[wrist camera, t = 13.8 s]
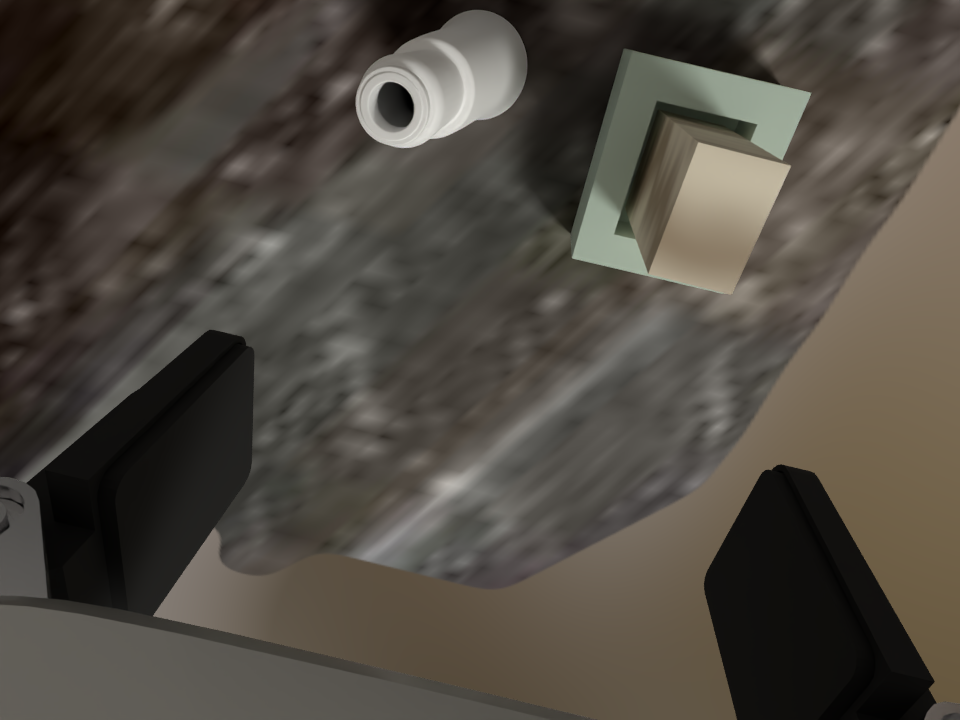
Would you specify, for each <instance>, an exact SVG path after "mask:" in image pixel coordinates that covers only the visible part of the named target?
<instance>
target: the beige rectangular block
mask: <svg viewBox="0 0 960 720" xmlns="http://www.w3.org/2000/svg"><path fill="white" fill-rule="evenodd" d="M790 167H791V165H789V164H787V163H786V162H784V161H782V160H781V159H779V158H777V157H776V156H774V155H772V154H770V153H769V152H767V151H765V150H764V149H762V148H760V147H759V146H757V145H755V144H754V143H752V142H750V141H749V140H747V139H745V138H744V137H742V136H740V135H739V134H737V133H735V132H734V131H732V130H730V129H729V128H727V127H725V126H723V125H719V124H715V123H711V122H707V121H703V120H699V119H695V118H691V117H687V116H683V115H679V114H675V113H671V112H667V111H663V110H660V109H658V112H657V115H656V117H655V120H654V123H653V126H652V129H651V132H650V135H649V138H648V141H647V144H646V147H645V150H644V153H643V156H642V159H641V161H640V164H639V167H638V170H637V173H636V176H635V179H634V182H633V185H632V188H631V191H630V194H629V197H628V200H627V203H626V205H625V210H626V213H627V216H628V219H629V221H630V224H631V227H632V230H633V233H634V236H635V238H636V241H637V244H638V247H639V250H640V252H641V255H642V258H643V261H644V264H645V266H646V269H647V272H648V274H650V275H654V276H658V277H662V278H666V279H670V280H674V281H678V282H682V283H686V284H690V285H694V286H698V287H702V288H706V289H710V290H714V291H718V292H722V293H726V294H730V295H732V293H733V291H734V289H735V286H736V284H737V282H738V280H739V278H740V276H741V273H742V271H743V269H744V267H745V265H746V263H747V260H748V258H749V256H750V254H751V252H752V250H753V247H754V245H755V243H756V241H757V239H758V237H759V234H760V232H761V230H762V228H763V226H764V224H765V221H766V219H767V217H768V215H769V213H770V211H771V208H772V206H773V204H774V202H775V200H776V198H777V195H778V193H779V191H780V189H781V187H782V185H783V182H784V180H785V178H786V176H787V174H788V172H789V169H790Z"/></svg>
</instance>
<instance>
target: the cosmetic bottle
mask: <svg viewBox="0 0 960 720" xmlns="http://www.w3.org/2000/svg"><path fill="white" fill-rule="evenodd" d="M526 76H527V55H526V50H525V46H524V44H523V41H522V39H521V37H520V35H519V34H518V32H517V31H516V29H515V28H514V27H513V26H512V25H511V24H510V23H509V22H508V21H507V20H506V19H504V18H503V17H501V16H500V15H497V14H495V13H493V12H490V11H485V10H470V11H466V12H463V13H460V14H458V15H456V16H454V17H453V18H451V19H450V20H449V21H447V22H446V23H445V24H444V25H443V26H442V28H441V29H440V30H437V31H433V32H430V33H427V34H424V35H422V36H419V37H417V38H415V39H412V40H410V41H408V42H407V43H405V44H403V45H402V46H401V47H400V48H399V49H398V50H397V51H396V52H395V53H394V54H392V55H388V56H385V57H382V58H381V59H379V60H377V61H376V62H375V63H373V64H372V65H371V66H370V67H369V68H368V70H367V71H366V73H365V74H364V76H363V78H362V81H361V83H360V85H359V88H358V90H357V94H356V111H357V115H358V118H359V121H360V123H361V125H362V126H363V128H364V129H365V131H366V132H367V133H368V134H369V135H370V136H371V137H372V138H374V139H375V140H377V141H378V142H381V143H383V144H386V145H390V146H394V147H398V148H410V147H415V146H418V145H420V144H423V143H424V142H426V141H427V140H429V139H434V138H441V137H445V136H447V135H450V134H452V133H454V132H456V131H458V130H460V129H462V128H464V127H465V126H467V125H469V124H470V123H472V122H473V121H475V120H485V119H490V118H493V117H496V116H498V115H500V114H502V113H503V112H505V111H506V110H507V109H509V108H510V107H511V106H512V105H513V104H514V102H515V101H516V100H517V98H518V97H519V95H520V93H521V92H522V89H523V87H524V84H525V81H526Z"/></svg>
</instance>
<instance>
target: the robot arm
mask: <svg viewBox="0 0 960 720" xmlns="http://www.w3.org/2000/svg"><path fill="white" fill-rule="evenodd" d="M253 388H254V350H253V348H252V347H248V346H246V342H245V339H244V338H243V337H241V336H237V335H233V334H228V333H224V332H220V331H216V330H209V331H207V332H205V333H204V334H203V335H202V336H201V337H200V338H198V339H197V340H196V341H195V342H194V343H193V344H191V345H190V346H189V347H188V348H187V349H186V350H184V351H183V352H182V353H181V354H180V355H179V356H177V357H176V358H175V359H174V360H173V361H172V362H170V363H169V364H168V365H167V366H166V367H165V368H163V369H162V370H161V371H160V372H159V373H158V374H156V375H155V376H154V377H153V378H152V379H151V380H149V381H148V382H147V383H146V384H145V385H144V386H142V387H141V388H140V389H138V390H137V391H135V392H134V393H132V394H131V395H129V396H128V397H127V398H126V399H125V400H123V401H122V402H121V403H120V404H119V405H118V406H116V407H115V408H114V409H113V410H112V411H111V412H109V413H108V414H107V415H106V416H105V417H104V418H102V419H101V420H100V421H99V422H98V423H96V424H95V425H94V426H93V427H92V428H91V429H89V430H88V431H87V432H86V433H85V434H84V435H82V436H81V437H80V438H79V439H78V440H76V441H75V442H74V443H73V444H72V445H71V446H69V447H68V448H67V449H66V450H65V451H64V452H62V453H61V454H60V455H59V456H58V457H57V458H55V459H54V460H53V461H52V462H51V463H49V464H48V465H47V466H46V467H45V468H44V469H42V470H41V471H40V472H39V473H38V474H37V475H35V476H34V477H33V478H32V479H31V480H29V481H28V482H27V483H25V482H22V481H19V480H16V479H13V478H6V477H0V720H596V719H591V718H587V717H584V716H580V715H575V714H571V713H567V712H562V711H558V710H554V709H550V708H546V707H542V706H537V705H533V704H529V703H525V702H521V701H517V700H512V699H509V698H504V697H500V696H496V695H492V694H487V693H483V692H479V691H475V690H471V689H467V688H462V687H458V686H454V685H450V684H446V683H441V682H437V681H433V680H428V679H425V678H420V677H416V676H412V675H408V674H404V673H399V672H395V671H391V670H387V669H382V668H378V667H374V666H370V665H365V664H361V663H356V662H352V661H348V660H344V659H340V658H335V657H330V656H327V655H322V654H318V653H314V652H309V651H305V650H301V649H296V648H292V647H288V646H284V645H279V644H275V643H271V642H266V641H262V640H258V639H253V638H249V637H245V636H241V635H236V634H232V633H228V632H223V631H219V630H214V629H209V628H205V627H200V626H195V625H191V624H186V623H181V622H177V621H172V620H168V619H163V618H158V617H153V615H154V613H155V612H156V610H157V609H158V607H159V606H160V604H161V603H162V602H163V600H164V599H165V597H166V596H167V594H168V593H169V592H170V590H171V589H172V587H173V586H174V584H175V583H176V582H177V580H178V578H179V577H180V576H181V574H182V573H183V571H184V570H185V568H186V567H187V566H188V564H189V563H190V561H191V560H192V559H193V557H194V556H195V554H196V553H197V551H198V550H199V548H200V547H201V545H202V544H203V543H204V541H205V540H206V538H207V537H208V535H209V534H210V533H211V531H212V530H213V528H214V527H215V525H216V524H217V523H218V521H219V520H220V518H221V517H222V515H223V514H224V512H225V511H226V510H227V508H228V507H229V505H230V504H231V502H232V501H233V500H234V498H235V497H236V495H237V494H238V492H239V491H240V489H241V488H242V487H243V485H244V484H245V482H246V480H247V478H248V476H249V473H250V469H251V464H252V429H253ZM704 590H705V595H706V599H707V603H708V607H709V611H710V615H711V619H712V623H713V627H714V631H715V635H716V638H717V642H718V646H719V650H720V654H721V658H722V662H723V666H724V670H725V674H726V677H727V681H728V685H729V689H730V693H731V697H732V701H733V705H734V709H735V713H736V716H737V720H960V704H957V703H951V702H942V703H936V701H935V700H934V698H933V696H932V694H931V692H930V691H929V688H930V686H931V685H932V684H933V683H934V680H933V678H932V676H931V674H930V673H929V671H928V669H927V667H926V666H925V664H924V662H923V661H922V659H921V657H920V655H919V653H918V652H917V650H916V648H915V646H914V645H913V643H912V641H911V639H910V638H909V636H908V634H907V632H906V631H905V629H904V627H903V625H902V624H901V622H900V620H899V618H898V617H897V615H896V613H895V612H894V610H893V608H892V606H891V604H890V603H889V601H888V599H887V598H886V596H885V594H884V592H883V590H882V589H881V587H880V585H879V584H878V582H877V580H876V578H875V576H874V575H873V573H872V571H871V569H870V568H869V566H868V564H867V563H866V561H865V559H864V557H863V556H862V555H861V552H860V550H859V549H858V547H857V545H856V543H855V542H854V540H853V538H852V537H851V535H850V533H849V531H848V529H847V528H846V526H845V524H844V523H843V521H842V519H841V517H840V516H839V514H838V512H837V510H836V509H835V507H834V505H833V503H832V501H831V500H830V498H829V496H828V494H827V493H826V491H825V489H824V488H823V486H822V484H821V482H820V480H819V479H818V477H817V476H816V475H815V473H813V472H810V471H806V470H802V469H798V468H794V467H789V466H785V465H777V466H776V467H774V468H773V469H772V470H765V471H764V472H762V474H761V475H760V477H759V479H758V481H757V482H756V484H755V486H754V488H753V490H752V491H751V493H750V495H749V497H748V499H747V500H746V502H745V504H744V506H743V507H742V509H741V511H740V513H739V515H738V516H737V518H736V520H735V522H734V524H733V525H732V527H731V529H730V531H729V533H728V534H727V536H726V538H725V540H724V542H723V543H722V545H721V547H720V549H719V551H718V552H717V554H716V556H715V558H714V560H713V561H712V563H711V565H710V567H709V569H708V571H707V573H706V576H705V581H704Z"/></svg>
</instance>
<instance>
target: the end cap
mask: <svg viewBox="0 0 960 720" xmlns="http://www.w3.org/2000/svg"><path fill="white" fill-rule="evenodd" d="M810 95H811V93H809V92H805V91H802V90H798V89H794V88H790V87H786V86H782V85H778V84H774V83H770V82H765V81H761V80H757V79H752V78H748V77H744V76H740V75H735V74H731V73H727V72H723V71H718V70H714V69H710V68H706V67H701V66H697V65H693V64H689V63H684V62H680V61H676V60H672V59H667V58H663V57H659V56H654V55H650V54H646V53H642V52H637V51H633V50H629V49H625V48H624V49H623V53H622V56H621V60H620V63H619V67H618V70H617V74H616V77H615V81H614V84H613V88H612V91H611V95H610V98H609V102H608V105H607V109H606V112H605V116H604V119H603V123H602V126H601V130H600V133H599V137H598V140H597V144H596V147H595V151H594V154H593V158H592V161H591V165H590V168H589V172H588V175H587V179H586V182H585V186H584V189H583V193H582V196H581V200H580V203H579V207H578V210H577V214H576V217H575V221H574V224H573V228H572V231H571V251H572V258H574V259H578V260H582V261H586V262H591V263H595V264H599V265H603V266H608V267H612V268H616V269H620V270H625V271H629V272H633V273H637V274H641V275H646V276H650V277H654V278H658V279H663V280H667V281H671V282H675V283H680V284H684V285H688V286H692V287H697V288H701V289H705V290H709V291H713V292H718V291H714V290H710V289H706V288H702V287H698V286H694V285H690V284H686V283H682V282H678V281H674V280H670V279H666V278H662V277H658V276H654V275H650V274H648V272H647V269H646V266H645V264H644V261H643V258H642V255H641V252H640V250H639V247H638V244H637V241H636V238H635V236H634V233H633V230H632V227H631V224H630V221H629V219H628V216H627V213H626V210H625V205H626V203H627V200H628V197H629V194H630V191H631V188H632V185H633V182H634V179H635V176H636V173H637V170H638V167H639V164H640V161H641V159H642V156H643V153H644V150H645V147H646V144H647V141H648V138H649V135H650V132H651V129H652V126H653V123H654V120H655V117H656V115H657V112H658V109H660V110H663V111H667V112H671V113H675V114H679V115H683V116H687V117H691V118H695V119H699V120H703V121H707V122H711V123H715V124H719V125H723V126H725V127H727V128H729V129H730V130H732V131H734V132H735V133H737V134H739V135H740V136H742V137H744V138H745V139H747V140H749V141H750V142H752V143H754V144H755V145H757V146H759V147H760V148H762V149H764V150H765V151H767V152H769V153H770V154H772V155H774V156H776V157H777V158H779V159H781V160H783V157H784V155H785V153H786V150H787V148H788V146H789V143H790V141H791V139H792V137H793V134H794V132H795V130H796V127H797V125H798V123H799V120H800V118H801V116H802V114H803V111H804V109H805V107H806V104H807V102H808V100H809V98H810ZM718 293H722V292H718ZM722 294H724V293H722Z"/></svg>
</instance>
